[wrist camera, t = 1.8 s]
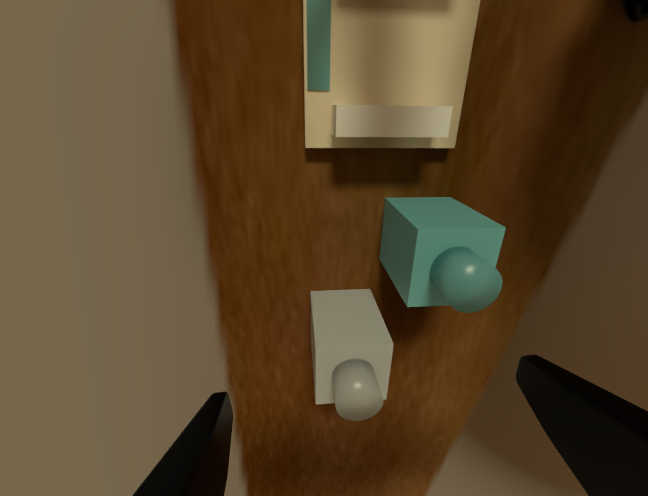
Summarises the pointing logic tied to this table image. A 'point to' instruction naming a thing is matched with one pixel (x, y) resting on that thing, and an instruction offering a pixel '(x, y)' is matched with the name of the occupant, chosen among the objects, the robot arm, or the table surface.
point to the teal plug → (441, 253)
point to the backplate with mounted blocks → (385, 71)
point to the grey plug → (350, 352)
